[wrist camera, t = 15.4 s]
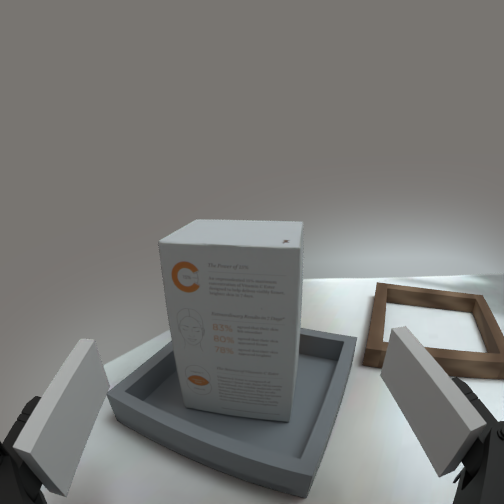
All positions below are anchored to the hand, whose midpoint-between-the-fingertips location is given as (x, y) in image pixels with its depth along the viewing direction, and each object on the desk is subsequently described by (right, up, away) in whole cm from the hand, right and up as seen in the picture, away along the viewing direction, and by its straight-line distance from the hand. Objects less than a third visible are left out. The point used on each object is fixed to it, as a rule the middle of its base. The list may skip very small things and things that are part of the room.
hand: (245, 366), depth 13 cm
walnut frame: (+21, -4, +18) cm, 28 cm away
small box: (0, -6, +11) cm, 12 cm away
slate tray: (0, -7, +11) cm, 13 cm away
